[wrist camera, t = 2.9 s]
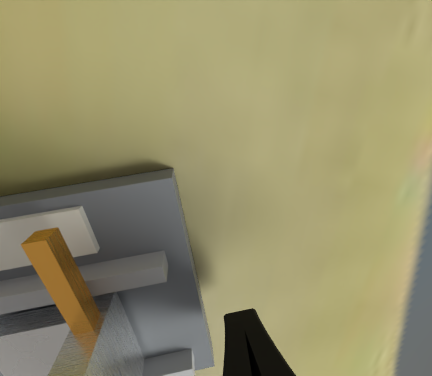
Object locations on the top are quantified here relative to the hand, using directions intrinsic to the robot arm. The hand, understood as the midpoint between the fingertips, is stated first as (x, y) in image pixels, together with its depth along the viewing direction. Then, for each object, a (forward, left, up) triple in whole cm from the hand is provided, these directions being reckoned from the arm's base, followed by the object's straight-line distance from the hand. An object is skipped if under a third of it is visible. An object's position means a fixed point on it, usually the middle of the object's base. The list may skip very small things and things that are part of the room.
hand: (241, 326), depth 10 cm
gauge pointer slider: (+2, +8, -1) cm, 8 cm away
